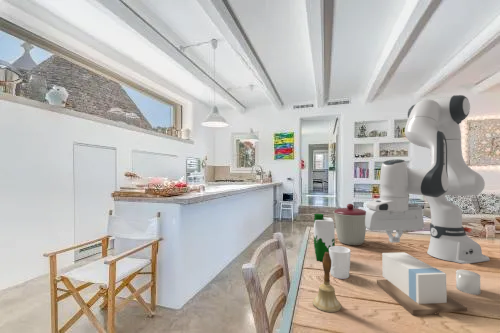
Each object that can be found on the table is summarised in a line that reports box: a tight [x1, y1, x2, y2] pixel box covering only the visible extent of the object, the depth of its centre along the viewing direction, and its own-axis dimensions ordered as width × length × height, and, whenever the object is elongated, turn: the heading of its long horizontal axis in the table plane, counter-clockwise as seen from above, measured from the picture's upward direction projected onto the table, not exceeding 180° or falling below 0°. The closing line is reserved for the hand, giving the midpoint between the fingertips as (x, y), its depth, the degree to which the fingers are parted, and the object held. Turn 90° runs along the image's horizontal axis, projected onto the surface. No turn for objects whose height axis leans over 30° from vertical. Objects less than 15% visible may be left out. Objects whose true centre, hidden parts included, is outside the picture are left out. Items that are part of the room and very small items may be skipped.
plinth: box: [376, 279, 468, 316], centre depth 78 cm, size 16×18×2 cm
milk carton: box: [313, 213, 336, 262], centre depth 111 cm, size 9×9×20 cm
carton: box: [381, 251, 448, 304], centre depth 81 cm, size 9×9×18 cm
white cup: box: [329, 245, 351, 280], centre depth 94 cm, size 8×8×10 cm
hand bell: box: [312, 252, 342, 313], centre depth 75 cm, size 8×8×16 cm
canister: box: [332, 203, 367, 246], centre depth 133 cm, size 18×18×21 cm
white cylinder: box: [455, 269, 482, 296], centre depth 81 cm, size 6×6×6 cm
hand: (394, 242), depth 89 cm, fingers closed
